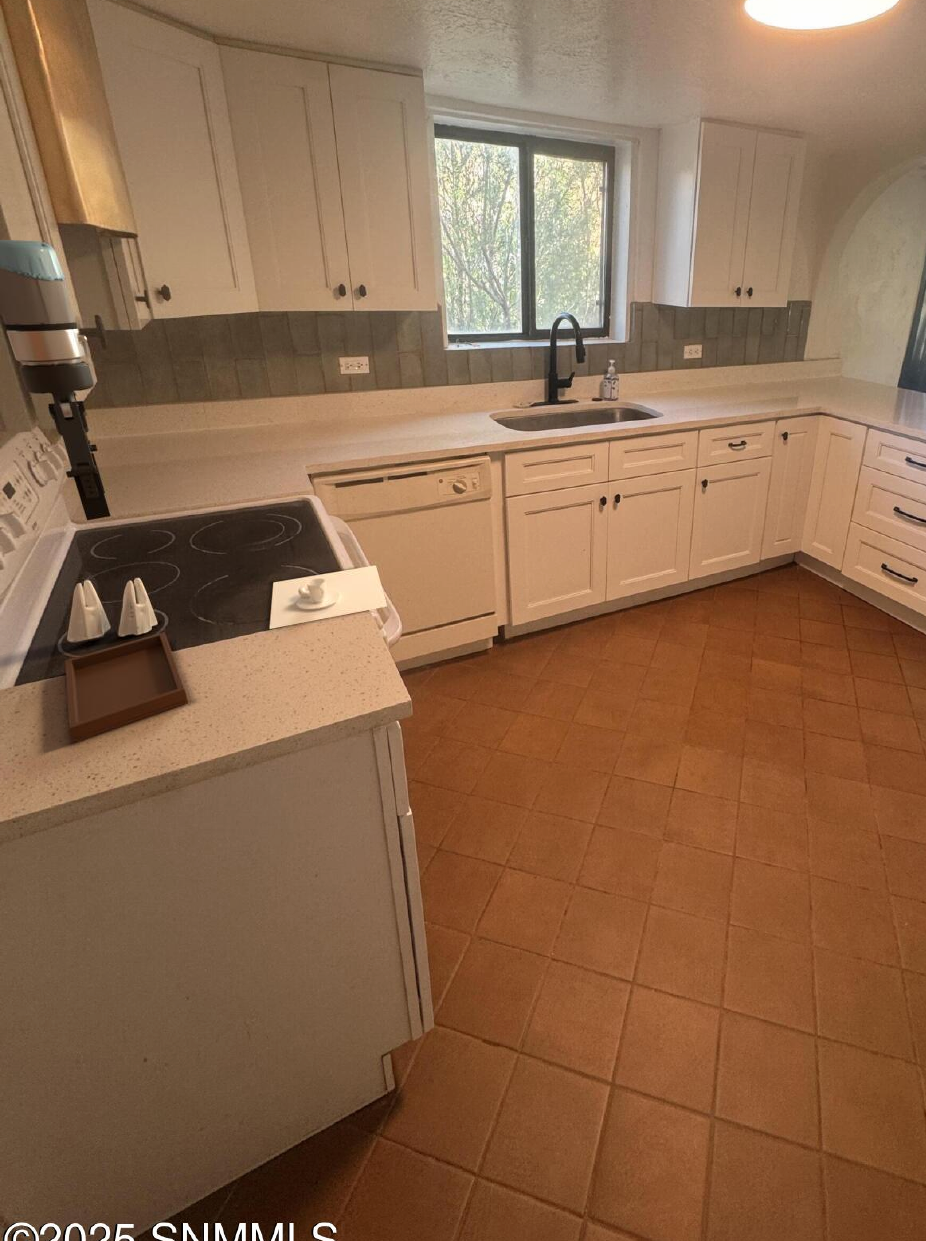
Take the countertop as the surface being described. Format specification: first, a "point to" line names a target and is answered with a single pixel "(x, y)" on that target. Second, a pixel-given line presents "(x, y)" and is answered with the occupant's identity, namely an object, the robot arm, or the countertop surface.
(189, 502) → the countertop surface
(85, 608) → the shaker set
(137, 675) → the tray
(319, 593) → the teacup and saucer
